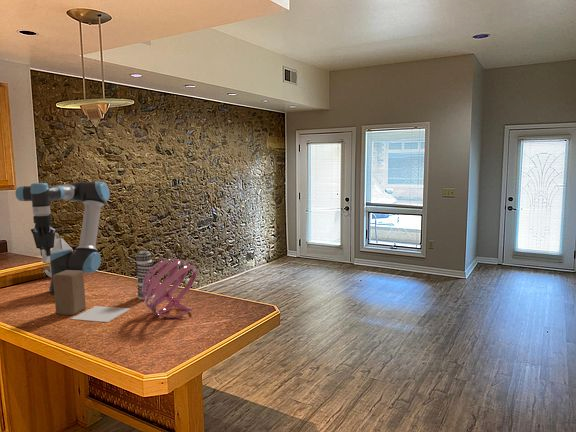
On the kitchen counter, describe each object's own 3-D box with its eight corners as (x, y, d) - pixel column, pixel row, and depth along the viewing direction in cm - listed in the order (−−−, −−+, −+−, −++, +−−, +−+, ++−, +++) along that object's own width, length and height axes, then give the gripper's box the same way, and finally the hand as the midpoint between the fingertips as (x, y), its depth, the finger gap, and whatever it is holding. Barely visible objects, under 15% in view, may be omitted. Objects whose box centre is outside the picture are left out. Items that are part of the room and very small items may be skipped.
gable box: (43, 272, 293) (39, 231, 289) (64, 269, 302) (61, 229, 298) (52, 279, 277) (48, 235, 273) (75, 275, 285) (71, 232, 282)
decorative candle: (148, 300, 231) (145, 253, 228) (133, 298, 234) (130, 253, 231) (158, 295, 240) (156, 250, 236) (144, 293, 243) (141, 249, 239)
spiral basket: (221, 272, 209) (179, 238, 215) (181, 302, 186) (135, 264, 193) (205, 308, 225) (166, 276, 231) (166, 340, 202) (124, 303, 208)
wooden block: (73, 316, 210) (70, 275, 207) (55, 314, 212) (51, 274, 209) (87, 308, 220) (83, 270, 217) (69, 307, 222) (66, 269, 219)
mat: (95, 306, 223) (95, 306, 223) (130, 309, 218) (130, 308, 218) (70, 319, 205) (70, 318, 205) (107, 322, 200) (107, 321, 200)
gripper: (24, 215, 210) (28, 263, 213) (47, 216, 207) (52, 264, 210) (36, 213, 217) (40, 260, 221) (59, 214, 214) (63, 261, 217)
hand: (46, 262), depth 215 cm, fingers closed
